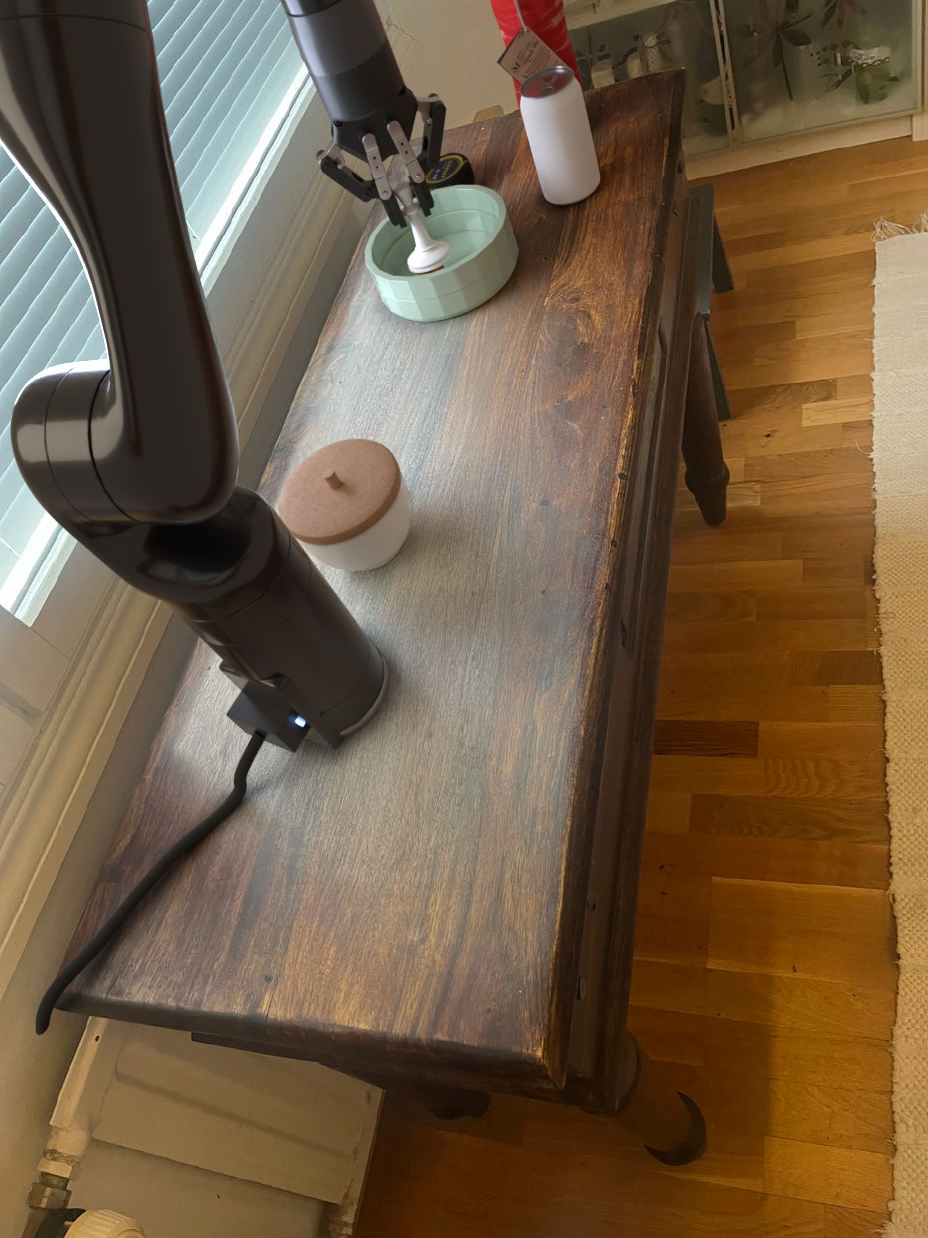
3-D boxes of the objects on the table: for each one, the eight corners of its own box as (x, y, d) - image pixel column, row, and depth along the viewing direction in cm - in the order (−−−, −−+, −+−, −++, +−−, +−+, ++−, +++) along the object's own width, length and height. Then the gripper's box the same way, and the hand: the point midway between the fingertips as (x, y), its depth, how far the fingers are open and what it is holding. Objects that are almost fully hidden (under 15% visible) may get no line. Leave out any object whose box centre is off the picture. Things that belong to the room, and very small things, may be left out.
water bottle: (582, 165, 105) (526, -87, 85) (515, 176, 108) (446, -64, 88) (599, 105, 111) (550, -143, 91) (535, 117, 114) (474, -121, 94)
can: (601, 165, 104) (578, 55, 94) (600, 199, 100) (577, 89, 91) (545, 178, 106) (517, 73, 96) (542, 212, 102) (513, 106, 93)
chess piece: (405, 260, 100) (367, 169, 93) (447, 240, 99) (412, 148, 92) (413, 279, 96) (374, 186, 89) (457, 259, 96) (421, 164, 89)
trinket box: (295, 559, 84) (244, 492, 77) (376, 480, 87) (335, 407, 79) (367, 612, 78) (319, 545, 71) (453, 525, 81) (415, 451, 73)
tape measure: (436, 181, 113) (425, 152, 110) (486, 176, 110) (476, 146, 107) (415, 216, 110) (404, 188, 107) (466, 213, 107) (456, 183, 104)
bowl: (479, 329, 94) (462, 285, 90) (359, 318, 102) (338, 276, 98) (543, 230, 100) (530, 184, 96) (425, 226, 108) (409, 183, 104)
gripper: (281, 101, 79) (362, 267, 93) (427, 25, 78) (487, 205, 92) (267, 66, 84) (346, 230, 97) (405, -6, 82) (466, 170, 96)
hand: (414, 217), depth 95 cm, fingers closed on chess piece
